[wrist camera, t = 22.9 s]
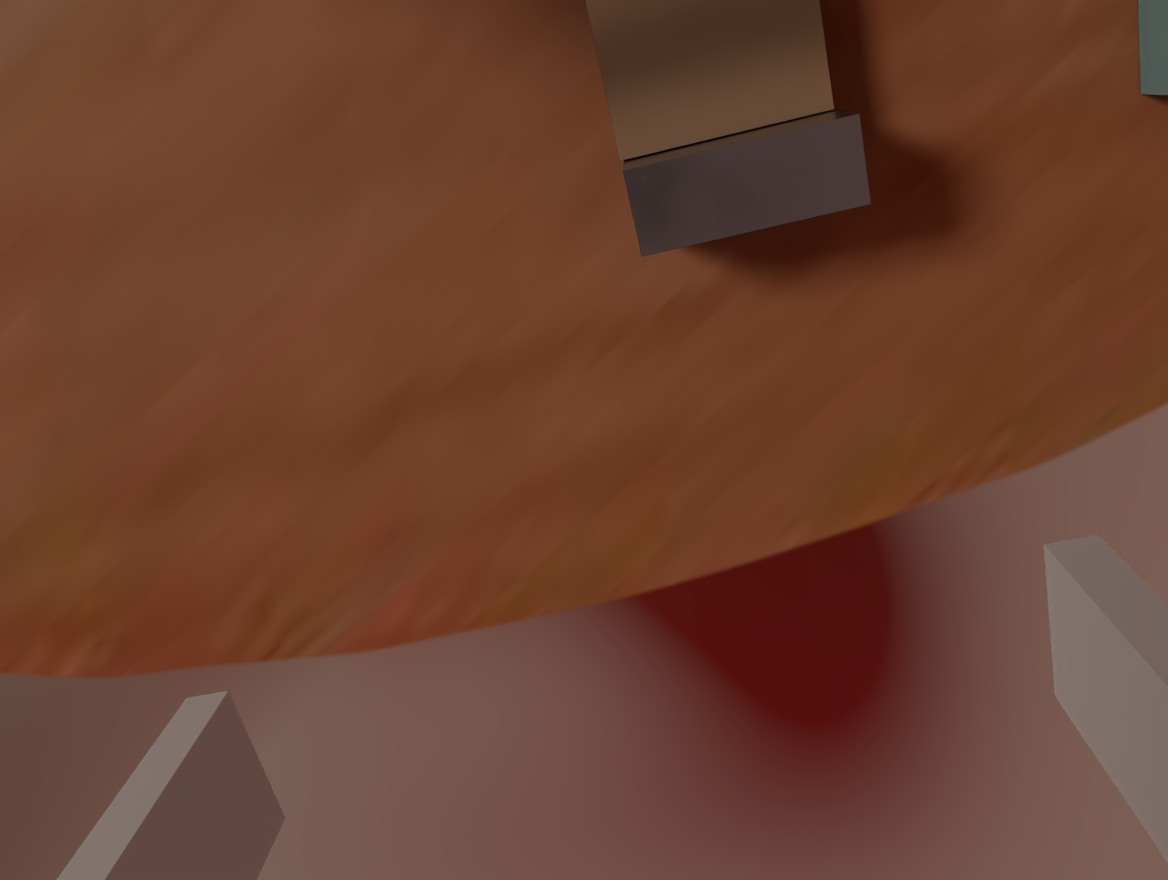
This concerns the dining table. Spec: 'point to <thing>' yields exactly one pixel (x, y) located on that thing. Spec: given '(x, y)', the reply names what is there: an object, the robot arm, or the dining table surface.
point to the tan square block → (707, 67)
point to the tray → (1153, 46)
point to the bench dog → (747, 181)
